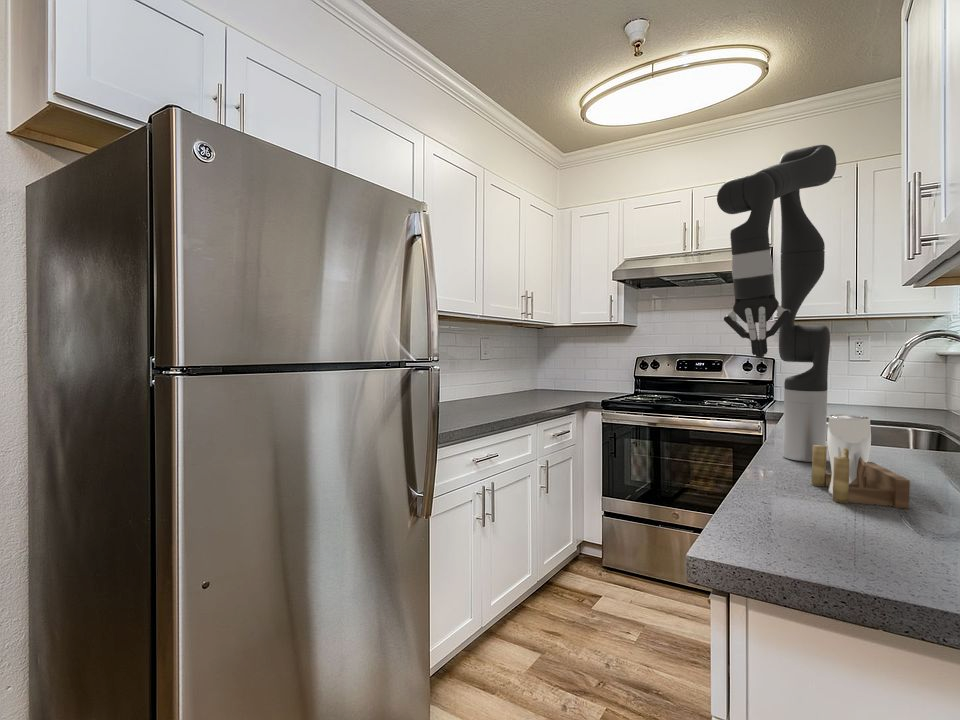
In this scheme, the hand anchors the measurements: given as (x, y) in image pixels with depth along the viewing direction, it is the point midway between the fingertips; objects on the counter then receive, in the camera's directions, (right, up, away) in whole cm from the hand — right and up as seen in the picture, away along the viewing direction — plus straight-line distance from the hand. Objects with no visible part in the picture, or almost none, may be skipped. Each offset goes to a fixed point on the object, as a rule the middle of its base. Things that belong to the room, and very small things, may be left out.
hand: (760, 356), depth 115 cm
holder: (+12, -26, -10) cm, 31 cm away
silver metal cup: (+11, -27, -10) cm, 31 cm away
